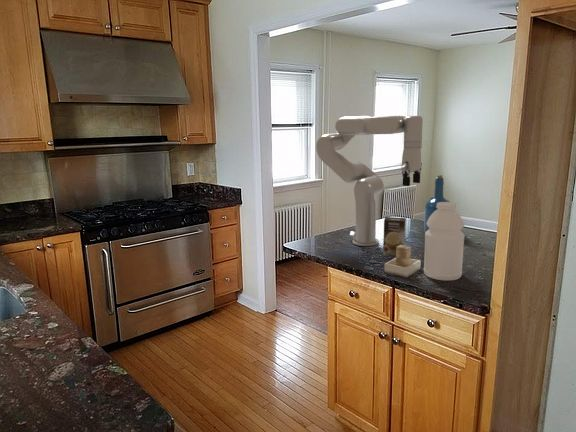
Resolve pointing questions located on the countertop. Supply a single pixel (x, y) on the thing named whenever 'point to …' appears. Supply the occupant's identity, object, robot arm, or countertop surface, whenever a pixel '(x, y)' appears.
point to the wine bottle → (434, 200)
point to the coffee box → (393, 234)
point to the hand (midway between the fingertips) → (411, 184)
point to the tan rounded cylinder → (403, 256)
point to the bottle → (444, 243)
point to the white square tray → (402, 268)
